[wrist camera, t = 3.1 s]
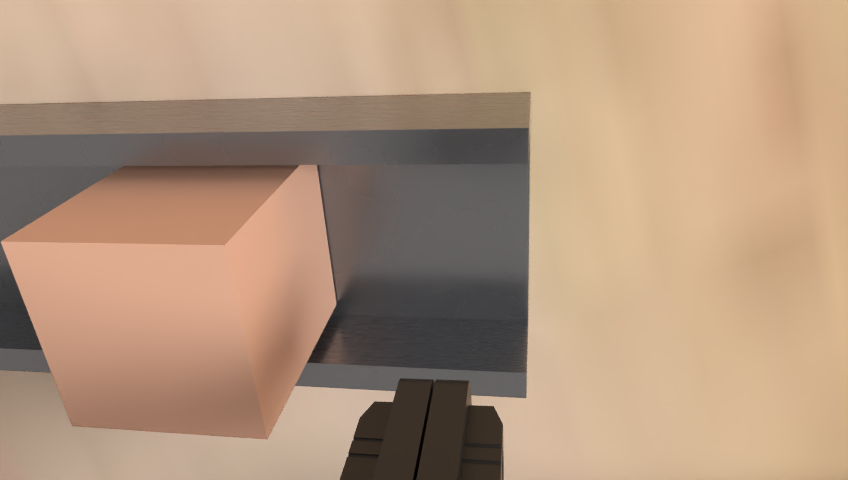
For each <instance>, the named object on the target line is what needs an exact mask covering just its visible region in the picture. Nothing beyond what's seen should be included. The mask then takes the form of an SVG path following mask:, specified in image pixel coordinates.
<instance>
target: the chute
mask: <svg viewBox="0 0 848 480" xmlns="http://www.w3.org/2000/svg"><path fill="white" fill-rule="evenodd" d="M229 165H317V170H318V177H319V184H320V191H321V198H322V205H323V212H324V219H325V226H326V233H327V240H328V247H329V254H330V261H331V268H332V276H333V283H334V290H335V297H336V306H335V308H334V310H333V312H332V314H331V316H330V318H329V320H328V322H327V324H326V326H325V328H324V330H323V332H322V334H321V336H320V338H319V340H318V341H317V343H316V345H315V347H314V349H313V351H312V353H311V355H310V357H309V359H308V361H307V363H306V365H305V367H304V369H303V371H302V373H301V375H300V377H299V379H298V380H297V382H296V384H295V386H310V387H329V388H348V389H366V390H385V391H396V389H397V385H398V382H399V380H400V378H407V379H434V381H436V379H439V380H467V381H470V384H471V395H478V396H497V397H516V398H526V388H527V349H528V277H529V181H530V92H525V93H482V94H439V95H396V96H353V97H310V98H267V99H224V100H181V101H138V102H95V103H52V104H9V105H0V370H11V371H30V372H48V373H51V370H50V367H49V365H48V362H47V360H46V357H45V355H44V352H43V349H42V347H41V344H40V342H39V339H38V337H37V334H36V331H35V329H34V326H33V324H32V321H31V319H30V316H29V313H28V311H27V308H26V306H25V303H24V301H23V298H22V295H21V293H20V290H19V288H18V285H17V283H16V280H15V277H14V275H13V272H12V270H11V267H10V265H9V262H8V259H7V257H6V254H5V252H4V249H3V247H2V244H1V241H2V240H4V239H6V238H7V237H9V236H10V235H12V234H14V233H15V232H17V231H19V230H20V229H22V228H24V227H25V226H27V225H28V224H30V223H32V222H33V221H35V220H37V219H38V218H40V217H41V216H43V215H45V214H46V213H48V212H50V211H51V210H53V209H54V208H56V207H58V206H59V205H61V204H63V203H64V202H66V201H67V200H69V199H71V198H72V197H74V196H76V195H77V194H79V193H80V192H82V191H84V190H85V189H87V188H89V187H90V186H92V185H93V184H95V183H97V182H98V181H100V180H102V179H103V178H105V177H106V176H108V175H110V174H111V173H113V172H115V171H116V170H118V169H119V168H121V167H123V166H229Z"/></svg>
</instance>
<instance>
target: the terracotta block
mask: <svg viewBox="0 0 848 480" xmlns="http://www.w3.org/2000/svg"><path fill="white" fill-rule="evenodd" d="M1 244H2V247H3V249H4V252H5V254H6V257H7V259H8V262H9V265H10V267H11V270H12V272H13V275H14V277H15V280H16V283H17V285H18V288H19V290H20V293H21V295H22V298H23V301H24V303H25V306H26V308H27V311H28V313H29V316H30V319H31V321H32V324H33V326H34V329H35V331H36V334H37V337H38V339H39V342H40V344H41V347H42V349H43V352H44V355H45V357H46V360H47V362H48V365H49V367H50V370H51V373H52V375H53V378H54V380H55V383H56V386H57V388H58V391H59V393H60V396H61V398H62V401H63V404H64V406H65V409H66V411H67V414H68V416H69V419H70V422H71V424H72V426H80V427H94V428H109V429H124V430H138V431H153V432H168V433H182V434H197V435H211V436H226V437H241V438H255V439H268V437H269V435H270V433H271V431H272V429H273V427H274V425H275V423H276V421H277V419H278V417H279V416H280V414H281V412H282V410H283V408H284V406H285V404H286V402H287V400H288V398H289V396H290V394H291V392H292V390H293V388H294V386H295V384H296V382H297V380H298V379H299V377H300V375H301V373H302V371H303V369H304V367H305V365H306V363H307V361H308V359H309V357H310V355H311V353H312V351H313V349H314V347H315V345H316V343H317V341H318V340H319V338H320V336H321V334H322V332H323V330H324V328H325V326H326V324H327V322H328V320H329V318H330V316H331V314H332V312H333V310H334V308H335V306H336V297H335V290H334V283H333V276H332V268H331V261H330V254H329V247H328V240H327V233H326V226H325V219H324V212H323V205H322V198H321V191H320V184H319V177H318V170H317V165H229V166H123V167H121V168H119V169H118V170H116V171H115V172H113V173H111V174H110V175H108V176H106V177H105V178H103V179H102V180H100V181H98V182H97V183H95V184H93V185H92V186H90V187H89V188H87V189H85V190H84V191H82V192H80V193H79V194H77V195H76V196H74V197H72V198H71V199H69V200H67V201H66V202H64V203H63V204H61V205H59V206H58V207H56V208H54V209H53V210H51V211H50V212H48V213H46V214H45V215H43V216H41V217H40V218H38V219H37V220H35V221H33V222H32V223H30V224H28V225H27V226H25V227H24V228H22V229H20V230H19V231H17V232H15V233H14V234H12V235H10V236H9V237H7V238H6V239H4V240H2V241H1Z"/></svg>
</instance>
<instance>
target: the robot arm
mask: <svg viewBox="0 0 848 480" xmlns="http://www.w3.org/2000/svg"><path fill="white" fill-rule="evenodd" d="M340 480H504V465H503V424H502V422H501V420H500V418H499V416H498V414H497V412H496V410H495V408H494V406H473V405H472V404H471V384H470V381H467V380H439V379H436V381H434V379H407V378H400V380H399V382H398V385H397V389H396V393H395V397H394V400H393V402H374V403H373V404H372V405H371V406H370V407H369V408H368V410H367V411H366V412H365V413H364V414H363V415H362V416H361V417H360V419H359V422H358V425H357V428H356V431H355V435H354V440H353V441H352V444H351V447H350V450H349V456H348V457H347V459H346V462H345V466H344V469H343V472H342V475H341V478H340Z"/></svg>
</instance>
